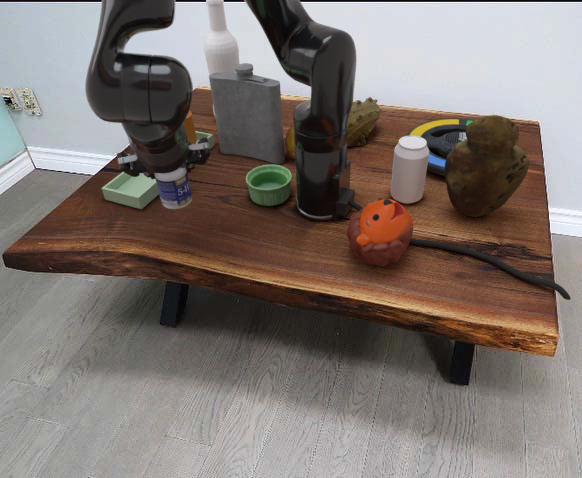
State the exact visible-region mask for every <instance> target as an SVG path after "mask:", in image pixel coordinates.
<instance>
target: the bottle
mask: <svg viewBox="0 0 582 478" xmlns="http://www.w3.org/2000/svg"><path fill="white" fill-rule="evenodd" d="M224 2H225V1H224V0H205V4H206V5H207V13H208V19H209V20H208V22H209V32H208V34H207V36H206V38H205V40H204V43H203V50H204V52H203V53H204V56H205V61H206V65H207V66H206V67H207V70H208V76H209V75H210V74H212V73H234V74H237V72H236V70H235V66H236V65H238V64H240V49H239V45H238V41H237V39H236V36H234V35H233V33H232V32H231V31H230V30H229V29H228V27H227V21H226V14H225V7H224V6H225V5H224ZM212 110H213V116H214V117H215V113H214V106H213V105H212Z"/></svg>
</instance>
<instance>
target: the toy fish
mask: <svg viewBox="0 0 582 478" xmlns="http://www.w3.org/2000/svg"><path fill="white" fill-rule="evenodd" d="M347 225H348V227H347V229H346V238H347V239H348V242H349V249H350V251H351V252H352V253H353V254H354V255H355V256H356V257H357V258H358V259H359V260H360V261H362V262H364V263H368V264H371V265H378V266H380V267H385V266H387V265H389V264H391V263H397V262H398V261H399V260H400V257H401V255H402V254H403V253H404V252H405V251H406V250H407V248H408V247H409V244H410V243H409V242H410V239H411V238H413V237H412V236H413V234H414V225H415V223H414V219H413V218H412V217H411V214H409V212H408V211H407V210H406V209H405V207H404V206H403V205H401V203H400V202H399V201H397V200H395V199H392V198H391V199H390V198H389V199H388V198H385V199H384V198H377V200H376V201H371V202H368V203H367V204H366V206H365V207H363V208H362V209H361V210H359V211H356V212H355V213H353V214H352V215H351V217H350V219H349V221H348V224H347Z"/></svg>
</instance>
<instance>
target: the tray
mask: <svg viewBox="0 0 582 478" xmlns="http://www.w3.org/2000/svg"><path fill="white" fill-rule="evenodd" d="M195 132H196V138H197V142H199V140H200V139H201V138H208V143H209V148H210V150H211V149H212V148H213V147H214V146H215V144H216V143H215V138H214V137H215V136H214V134H213V133H209V132H208V133H207V132H202V131H198V130H195ZM193 153H194V152H193ZM139 174H140V175H139V176H138V177H132V176H130V175H128V174H126V173H124V172H123V171H121V172H120V173H119V174H118V175H117V176H114V178H113V179H112V180H110V181H109V182H107V184H105V185H103V186H102V187H101V191H102V195H103V198H104V199H105V200H106V201H109V202H112V203H116V204H120V205H124V206H127V207H130V208H134V209H138V210H143V209H144V208H146V206H148V205H149V203H151V202H152V201H154V200H155V198H156V197H157V196H160V195H159V191H158V187H157V183H156V179H151V177H149V178H148V177H146V176H144V173H139Z"/></svg>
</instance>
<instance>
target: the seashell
mask: <svg viewBox="0 0 582 478" xmlns="http://www.w3.org/2000/svg"><path fill="white" fill-rule="evenodd" d="M377 103H378V99H376V98H375V99H373V98H372V97H371V96H368V97H367V98H365V100H364V101H361V100H359V99H358V100H355V101H353V105H352V108H351V111H350V114H349V117H348V139H347V147H350V148H351V147H358V146H359V147H360V146H365V144H366V143H367V138H368V137H370V134H371V132H372V131H373V130H374V129H375V124H376V123H377V121H378V120H379V119H380V116H381V112H382V111H383V110H382V109H381V108H380V107H379V105H378V104H377Z"/></svg>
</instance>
